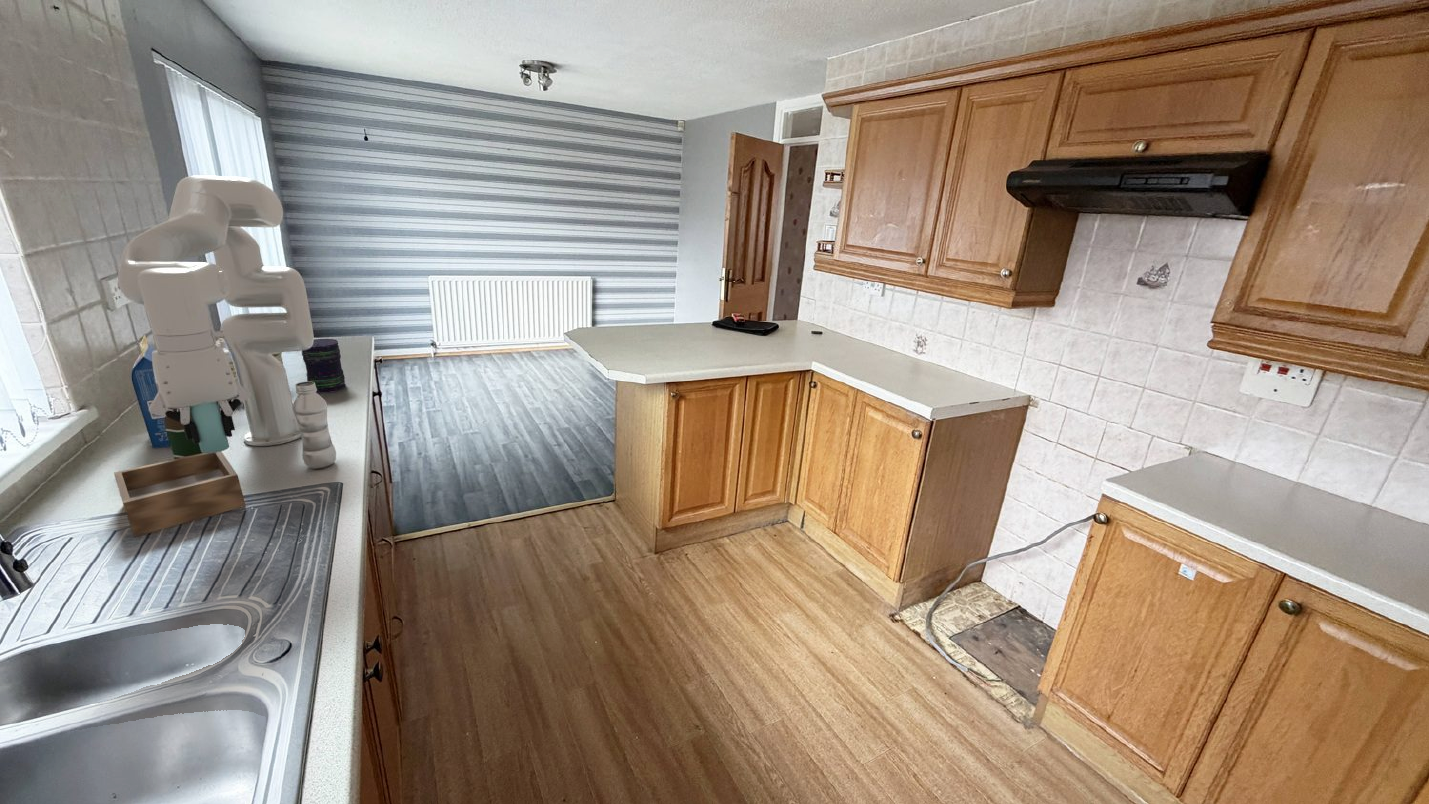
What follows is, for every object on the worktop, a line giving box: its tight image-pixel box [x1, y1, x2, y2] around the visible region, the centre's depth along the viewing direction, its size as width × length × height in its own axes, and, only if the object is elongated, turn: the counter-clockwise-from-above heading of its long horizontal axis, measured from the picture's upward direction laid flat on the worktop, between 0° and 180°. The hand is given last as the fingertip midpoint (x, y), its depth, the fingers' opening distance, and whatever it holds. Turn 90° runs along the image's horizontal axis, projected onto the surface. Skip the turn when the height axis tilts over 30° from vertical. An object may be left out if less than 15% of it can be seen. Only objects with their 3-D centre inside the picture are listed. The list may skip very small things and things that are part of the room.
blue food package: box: [131, 334, 171, 449], centre depth 136 cm, size 6×12×25 cm, turn 40°
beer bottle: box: [164, 408, 202, 460], centre depth 122 cm, size 8×8×24 cm
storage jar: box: [301, 338, 347, 394], centre depth 176 cm, size 10×10×15 cm
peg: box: [190, 402, 230, 453], centre depth 103 cm, size 4×4×10 cm
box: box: [113, 451, 246, 538], centre depth 111 cm, size 16×16×7 cm
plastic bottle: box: [292, 380, 337, 470], centre depth 127 cm, size 6×7×20 cm
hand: (212, 437), depth 103 cm, fingers closed on peg, 4 cm apart
